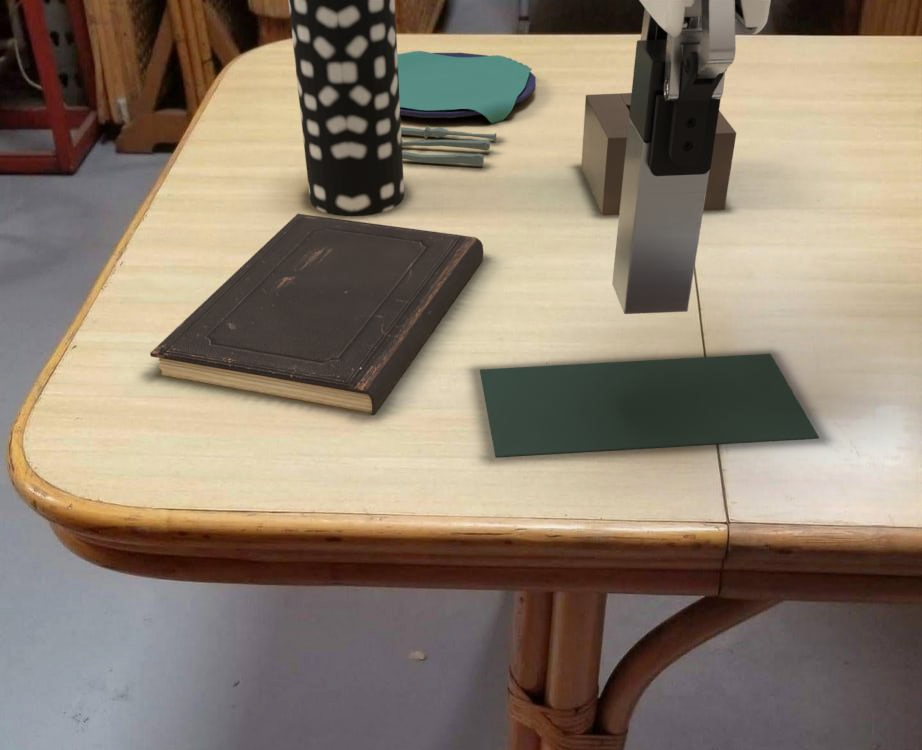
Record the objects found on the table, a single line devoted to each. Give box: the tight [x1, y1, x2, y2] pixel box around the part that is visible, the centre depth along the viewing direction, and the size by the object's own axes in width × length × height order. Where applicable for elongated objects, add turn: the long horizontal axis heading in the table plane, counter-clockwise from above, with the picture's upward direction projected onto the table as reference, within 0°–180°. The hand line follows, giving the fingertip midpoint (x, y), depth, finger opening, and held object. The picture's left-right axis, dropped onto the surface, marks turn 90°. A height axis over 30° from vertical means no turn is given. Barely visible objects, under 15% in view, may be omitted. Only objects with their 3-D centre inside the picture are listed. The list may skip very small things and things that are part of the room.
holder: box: [580, 92, 737, 216], centre depth 93 cm, size 11×11×7 cm
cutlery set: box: [397, 50, 537, 167], centre depth 110 cm, size 20×30×2 cm, turn 168°
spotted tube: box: [287, 0, 405, 217], centre depth 88 cm, size 8×8×20 cm
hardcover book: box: [149, 213, 484, 416], centre depth 78 cm, size 16×23×2 cm
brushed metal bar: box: [611, 39, 709, 315], centre depth 59 cm, size 4×4×14 cm
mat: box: [479, 353, 820, 459], centre depth 69 cm, size 20×10×1 cm, turn 95°
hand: (669, 153), depth 58 cm, fingers closed on brushed metal bar, 3 cm apart
